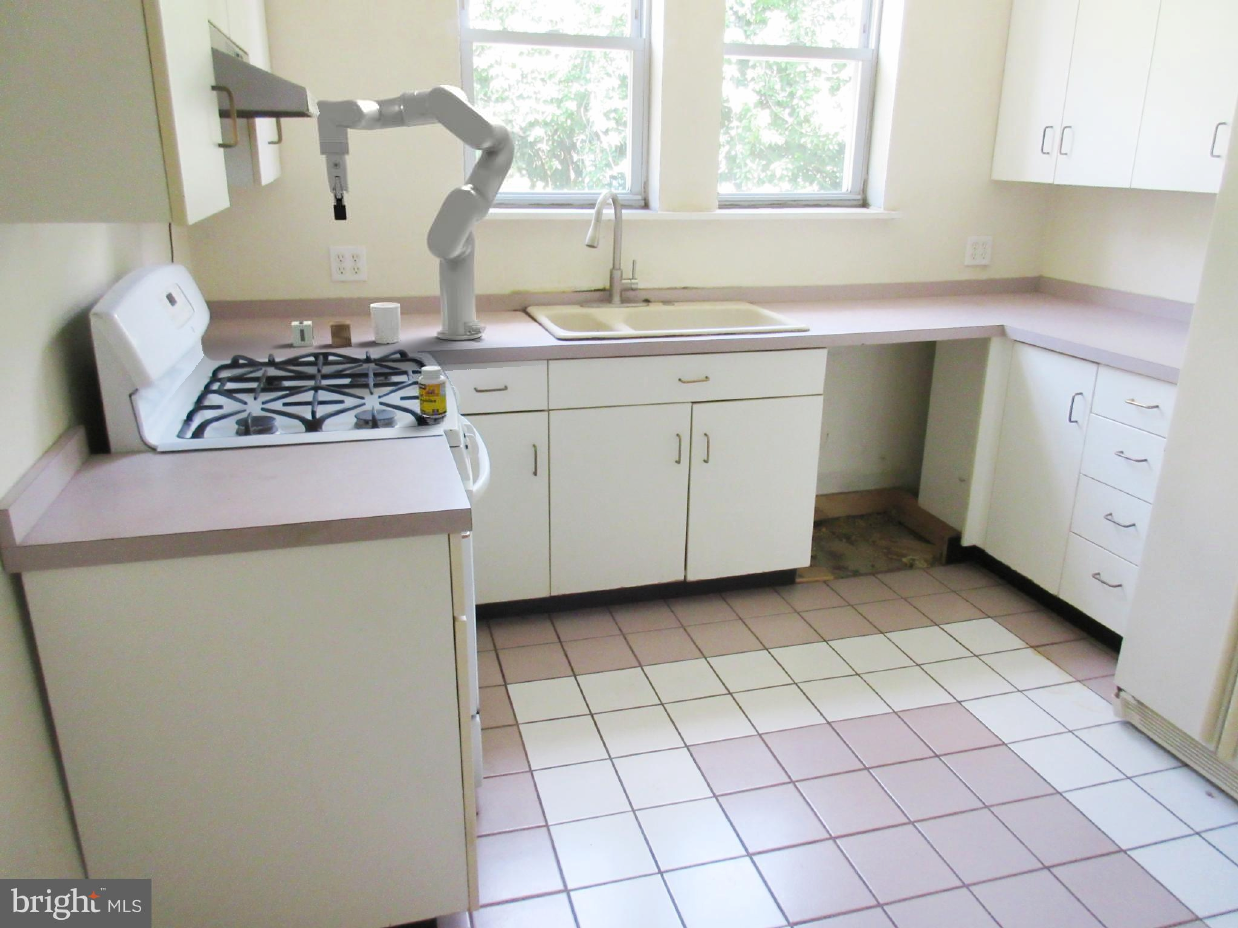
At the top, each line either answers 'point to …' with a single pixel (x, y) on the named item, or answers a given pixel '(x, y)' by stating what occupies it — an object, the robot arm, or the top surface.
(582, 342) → the top surface
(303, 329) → the marked block
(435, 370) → the supplement bottle
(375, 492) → the top surface
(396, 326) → the white cup
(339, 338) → the walnut block
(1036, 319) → the top surface
